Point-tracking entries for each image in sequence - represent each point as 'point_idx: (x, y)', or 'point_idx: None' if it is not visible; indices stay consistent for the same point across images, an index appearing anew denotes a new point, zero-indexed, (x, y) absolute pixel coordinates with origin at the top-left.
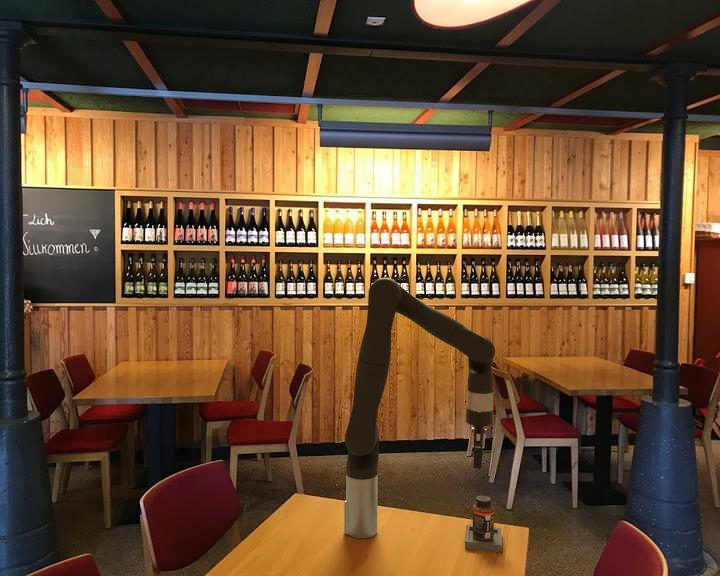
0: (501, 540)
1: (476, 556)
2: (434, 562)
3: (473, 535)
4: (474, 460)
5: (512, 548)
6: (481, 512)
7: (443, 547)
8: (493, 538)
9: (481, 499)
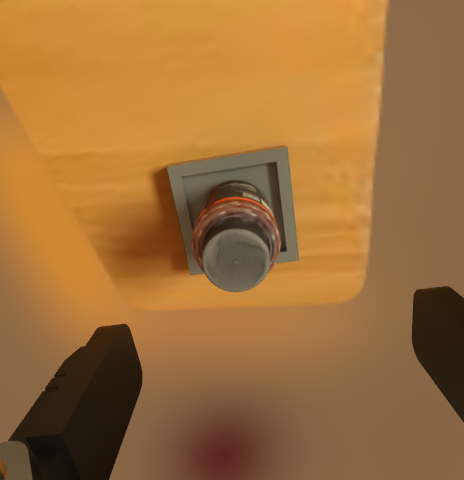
0: None
1: (141, 204)
2: (44, 89)
3: (216, 186)
4: (68, 384)
5: None
6: (191, 243)
7: (147, 94)
8: None
9: (216, 255)
